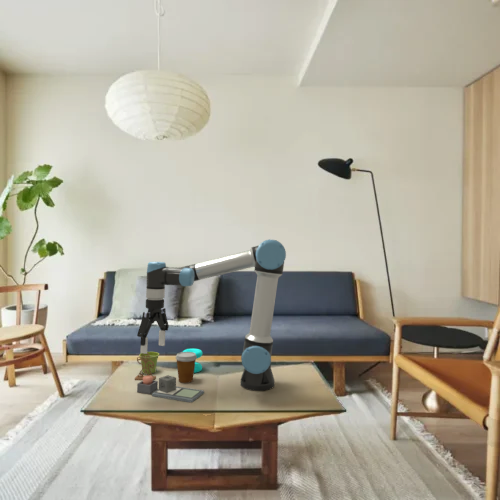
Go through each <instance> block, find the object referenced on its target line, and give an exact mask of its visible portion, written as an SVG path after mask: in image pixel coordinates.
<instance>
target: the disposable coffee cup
mask: <svg viewBox="0 0 500 500" xmlns="http://www.w3.org/2000/svg"><path fill="white" fill-rule="evenodd" d="M196 358H197V356H196V354H195V353H193V352H183V351H181V352H178V353H177V354H176V356H175V361H176V365H177V366H176V367H177V376H178V382H179V383H182V384H189V383H193V380H194V374H195V373H194V368H195V362H197V361H196V360H197V359H198V358H197V359H196Z"/></svg>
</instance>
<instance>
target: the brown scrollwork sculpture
mask: <svg viewBox="0 0 500 500" xmlns="http://www.w3.org/2000/svg"><path fill="white" fill-rule="evenodd" d="M147 354H148V353H147ZM148 355H149V354H148ZM143 357H149V358H150V355H149V356H145V355H144V356H143V355H142V359H143V360H142V359H141V357H140V356H137V357H136V362H137V363H138V364H139V365H141V370H140V372H139V373H138V375H137V376H135V377H134V381H143V377H144V376H145V375H146V376H153V380H154V381H156V379H157V376H156V375H153V373H151V371H150V370H149V365H150V364H148V368H146V363H147V362H148V361H150V362H152V361H151V360H149V359H148V358H147V359H148V360H147V359H145V358H143ZM144 359H145V360H144ZM139 361H140V362H139ZM141 361H144V363H145V367H143V364H141ZM152 363H153V362H152ZM151 366H154V363H153V365H150V368H154V367H151ZM142 369H148V370H149V372H150V374H148V373H147V372H146V370H145V372H146V374H144V373H145V372H144V373H143V374H142Z"/></svg>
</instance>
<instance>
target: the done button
mask: <svg viewBox="0 0 500 500" xmlns="http://www.w3.org/2000/svg"><path fill="white" fill-rule="evenodd" d="M143 376H144V377H143V384H146V385H150V384H152V383H153V376H154V375H153V376H152V375H150V376H147V375H143Z"/></svg>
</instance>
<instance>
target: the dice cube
mask: <svg viewBox="0 0 500 500" xmlns="http://www.w3.org/2000/svg"><path fill="white" fill-rule="evenodd" d="M176 386H177V377H175V376H172V375H169V374H168V375H165V376H162V377H159V378H158V389H159V391H162V392H165V393H168V392H171V391H174V390H176Z"/></svg>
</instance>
